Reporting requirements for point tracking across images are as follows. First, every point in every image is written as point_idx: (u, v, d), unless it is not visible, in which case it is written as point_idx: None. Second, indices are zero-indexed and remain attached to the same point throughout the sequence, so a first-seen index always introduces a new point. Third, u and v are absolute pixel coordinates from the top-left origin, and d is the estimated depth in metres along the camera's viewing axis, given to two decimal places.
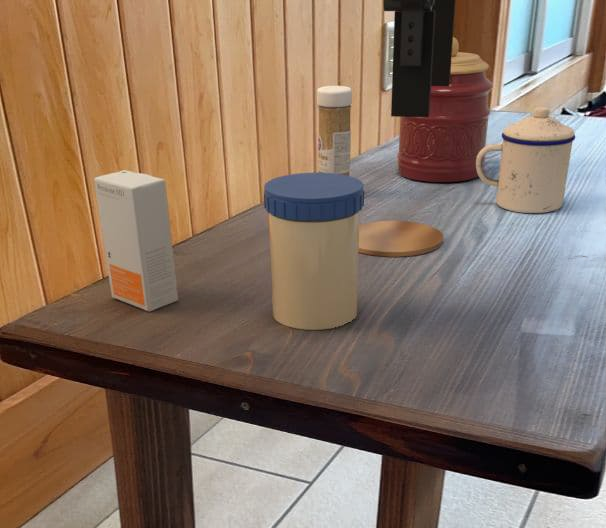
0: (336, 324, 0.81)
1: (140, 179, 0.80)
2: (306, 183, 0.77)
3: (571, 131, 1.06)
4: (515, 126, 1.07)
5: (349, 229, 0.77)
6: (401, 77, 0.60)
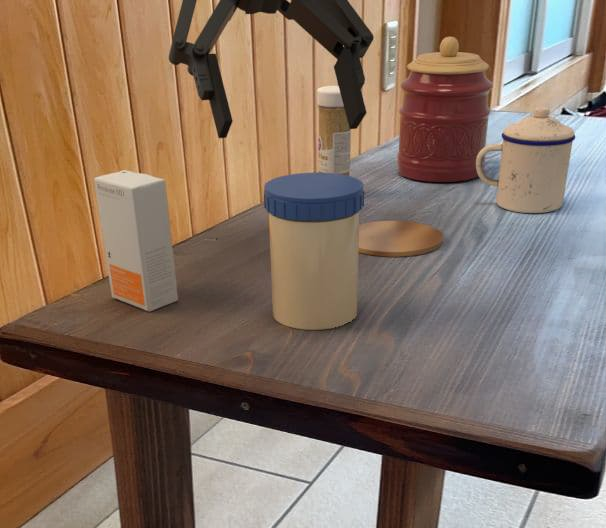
0: (336, 324, 0.81)
1: (140, 179, 0.80)
2: (306, 183, 0.77)
3: (571, 131, 1.06)
4: (515, 126, 1.07)
5: (349, 229, 0.77)
6: (213, 108, 0.79)
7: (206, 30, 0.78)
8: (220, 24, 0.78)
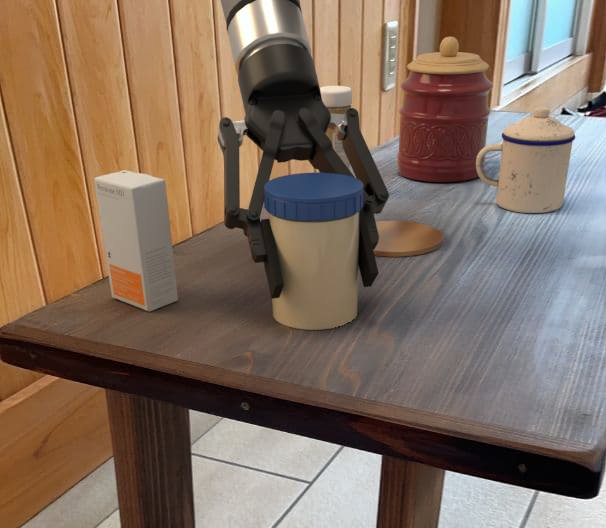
0: (336, 324, 0.81)
1: (140, 179, 0.80)
2: (306, 183, 0.77)
3: (571, 131, 1.06)
4: (515, 126, 1.07)
5: (349, 229, 0.77)
6: (266, 270, 0.79)
7: (255, 194, 0.78)
8: None
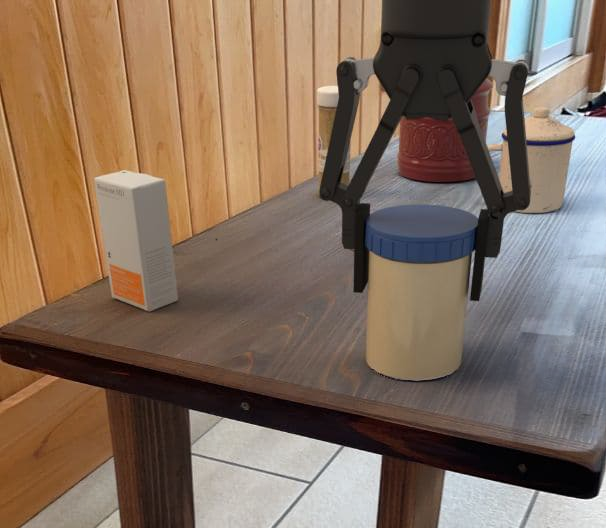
0: (441, 375, 0.72)
1: (140, 179, 0.80)
2: (413, 218, 0.68)
3: (571, 131, 1.06)
4: None
5: (463, 270, 0.68)
6: None
7: (356, 178, 0.66)
8: (374, 166, 0.65)
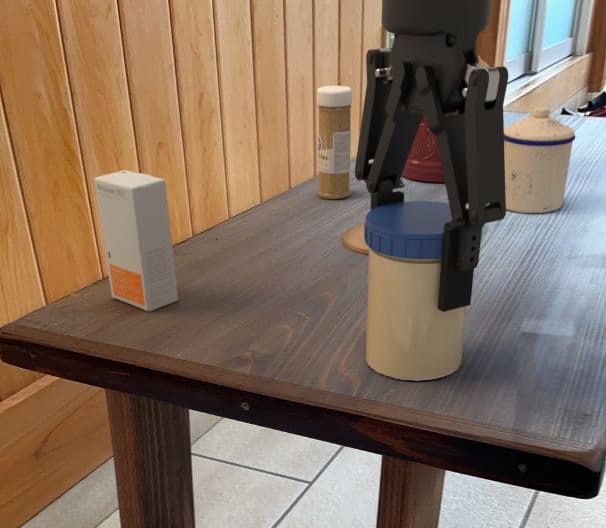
0: (441, 375, 0.72)
1: (140, 179, 0.80)
2: (424, 219, 0.67)
3: (571, 131, 1.06)
4: (515, 126, 1.07)
5: None
6: (452, 278, 0.66)
7: None
8: None
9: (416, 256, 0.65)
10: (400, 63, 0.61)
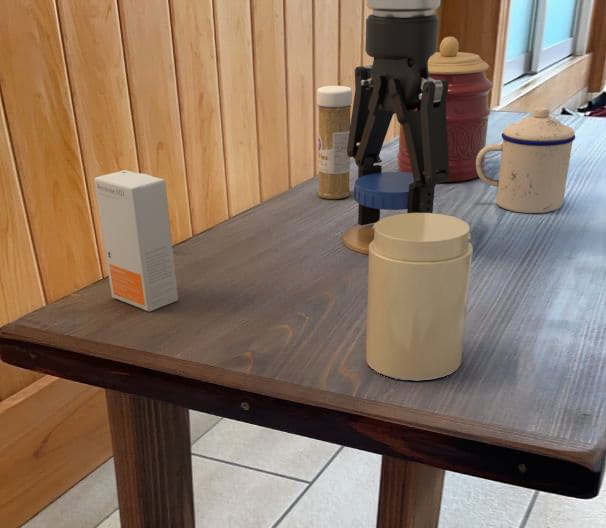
0: (441, 375, 0.72)
1: (140, 179, 0.80)
2: (395, 183, 0.97)
3: (571, 131, 1.06)
4: (515, 126, 1.07)
5: (463, 270, 0.68)
6: None
7: None
8: None
9: (390, 208, 0.96)
10: (378, 76, 0.92)
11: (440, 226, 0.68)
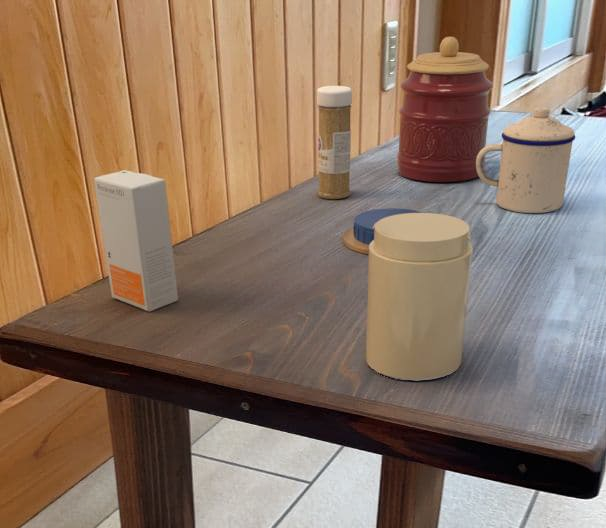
0: (441, 375, 0.72)
1: (140, 179, 0.80)
2: None
3: (571, 131, 1.06)
4: (515, 126, 1.07)
5: (463, 270, 0.68)
6: None
7: None
8: None
9: None
10: None
11: (440, 226, 0.68)
